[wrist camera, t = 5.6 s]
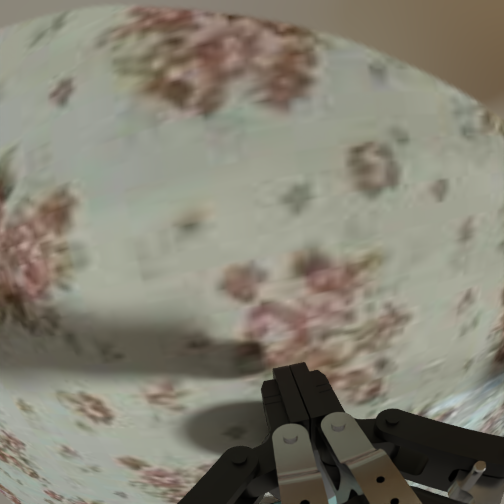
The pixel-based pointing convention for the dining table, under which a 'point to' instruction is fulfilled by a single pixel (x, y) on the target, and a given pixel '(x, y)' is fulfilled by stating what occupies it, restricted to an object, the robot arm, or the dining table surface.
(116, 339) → the dining table surface
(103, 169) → the dining table surface
